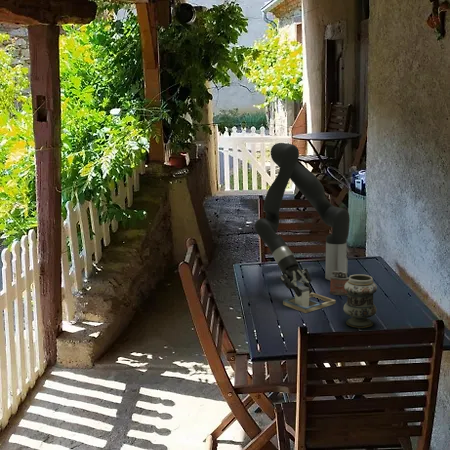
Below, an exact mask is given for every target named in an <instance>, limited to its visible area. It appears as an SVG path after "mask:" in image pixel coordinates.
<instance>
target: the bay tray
mask: <svg viewBox="0 0 450 450" xmlns="http://www.w3.org/2000/svg"><path fill="white" fill-rule="evenodd" d="M314 297H315V298H316V299H317V298H318V299H317V300H320V299H321V301H324V302H322V303H321V302H318V301H316V300H312V299H310V298H314ZM282 305H283V306H286V307H288V308H290V309H294V310H296V311H298V312H302V313H304V314H308V313H310V312H313V311H317V310H320V309H324V308H326V307H329V306H333V305H336V299H333V298H330V297H327V296H325V295H321V294H319V293H315V292H312V293H310V294H309V307H303V306H301V305H298V304H295V296H293V297H290V298H289V297H288V298H286V299H283V300H282Z"/></svg>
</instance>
